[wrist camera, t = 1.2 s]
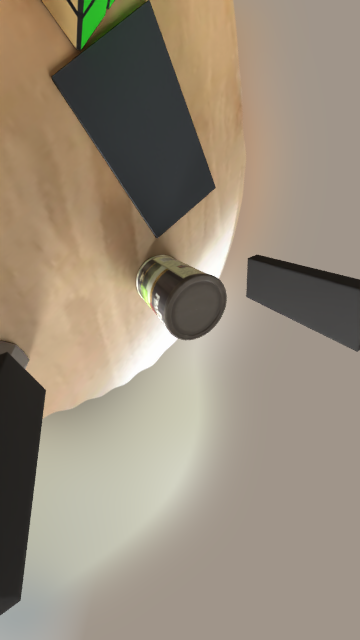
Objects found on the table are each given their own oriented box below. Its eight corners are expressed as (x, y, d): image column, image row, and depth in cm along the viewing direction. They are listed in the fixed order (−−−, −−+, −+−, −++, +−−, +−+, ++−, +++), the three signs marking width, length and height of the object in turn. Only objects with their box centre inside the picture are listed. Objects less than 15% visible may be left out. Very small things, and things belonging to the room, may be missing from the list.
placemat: (51, 79, 21) (51, 76, 20) (147, 3, 21) (149, -1, 21) (156, 238, 33) (157, 238, 33) (213, 188, 34) (215, 187, 34)
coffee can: (148, 313, 40) (178, 352, 29) (126, 268, 33) (154, 297, 23) (189, 291, 42) (230, 319, 31) (175, 245, 36) (222, 261, 25)
